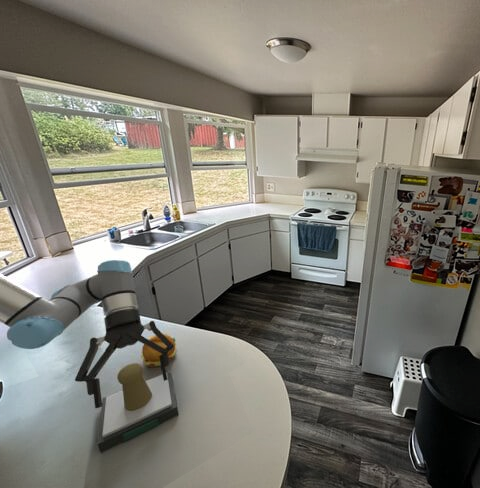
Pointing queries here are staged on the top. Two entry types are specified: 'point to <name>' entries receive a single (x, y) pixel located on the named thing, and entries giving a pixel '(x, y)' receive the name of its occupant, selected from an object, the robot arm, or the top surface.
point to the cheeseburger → (152, 355)
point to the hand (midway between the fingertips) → (134, 393)
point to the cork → (134, 387)
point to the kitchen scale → (136, 413)
